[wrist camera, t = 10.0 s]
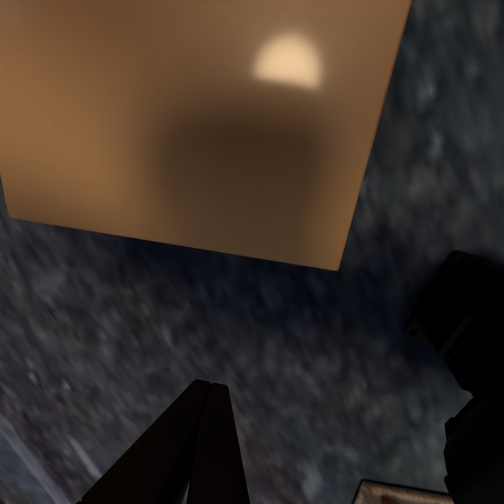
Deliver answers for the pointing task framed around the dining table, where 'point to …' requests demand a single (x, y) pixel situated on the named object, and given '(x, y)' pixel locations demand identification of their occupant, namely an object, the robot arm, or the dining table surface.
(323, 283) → the dining table surface
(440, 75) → the dining table surface
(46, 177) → the cabinet
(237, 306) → the dining table surface
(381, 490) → the decorative jar
